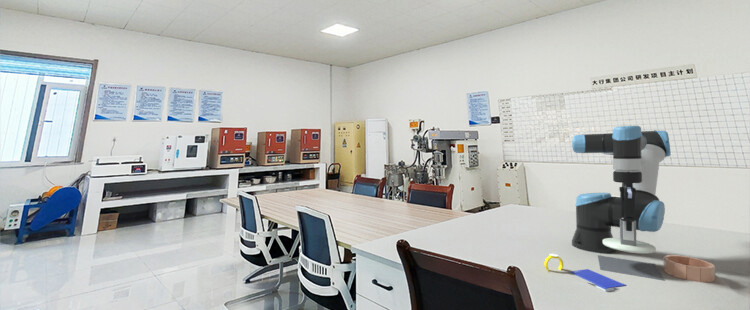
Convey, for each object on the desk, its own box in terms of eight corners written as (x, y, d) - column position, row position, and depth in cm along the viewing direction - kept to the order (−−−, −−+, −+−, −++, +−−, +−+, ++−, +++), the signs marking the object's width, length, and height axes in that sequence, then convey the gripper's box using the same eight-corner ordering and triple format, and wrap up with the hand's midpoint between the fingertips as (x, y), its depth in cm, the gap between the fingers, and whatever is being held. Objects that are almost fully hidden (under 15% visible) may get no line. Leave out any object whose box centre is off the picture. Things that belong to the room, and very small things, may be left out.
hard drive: (568, 271, 98) (605, 288, 86) (588, 268, 100) (627, 284, 88) (568, 276, 98) (605, 293, 86) (588, 273, 100) (627, 289, 88)
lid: (603, 248, 100) (603, 222, 100) (601, 237, 112) (601, 214, 111) (660, 256, 92) (660, 227, 92) (651, 243, 104) (651, 218, 103)
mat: (600, 271, 100) (600, 269, 100) (597, 257, 113) (597, 255, 113) (665, 283, 91) (665, 280, 91) (654, 266, 104) (654, 263, 104)
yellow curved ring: (559, 270, 102) (560, 253, 102) (564, 274, 99) (565, 256, 99) (542, 270, 102) (543, 253, 102) (547, 273, 99) (548, 256, 99)
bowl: (668, 279, 93) (668, 263, 93) (660, 267, 102) (660, 253, 102) (720, 287, 87) (720, 270, 87) (707, 274, 96) (706, 259, 96)
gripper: (646, 173, 93) (646, 247, 93) (637, 169, 106) (638, 234, 106) (615, 172, 97) (616, 243, 97) (611, 168, 110) (611, 231, 111)
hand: (627, 238), depth 102 cm, fingers closed on lid, 3 cm apart
